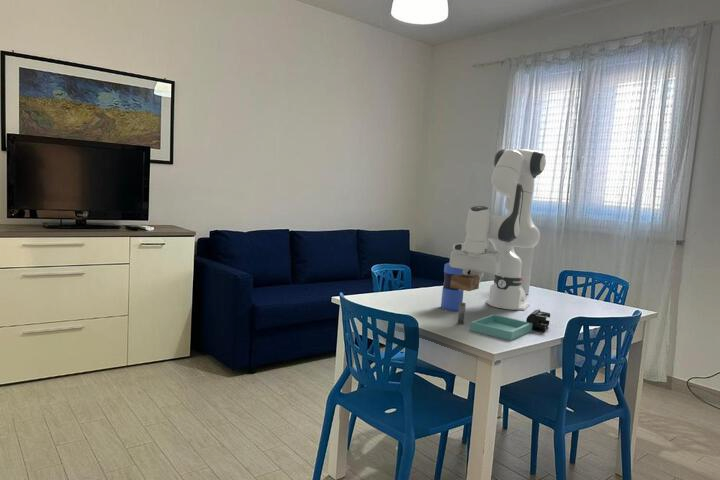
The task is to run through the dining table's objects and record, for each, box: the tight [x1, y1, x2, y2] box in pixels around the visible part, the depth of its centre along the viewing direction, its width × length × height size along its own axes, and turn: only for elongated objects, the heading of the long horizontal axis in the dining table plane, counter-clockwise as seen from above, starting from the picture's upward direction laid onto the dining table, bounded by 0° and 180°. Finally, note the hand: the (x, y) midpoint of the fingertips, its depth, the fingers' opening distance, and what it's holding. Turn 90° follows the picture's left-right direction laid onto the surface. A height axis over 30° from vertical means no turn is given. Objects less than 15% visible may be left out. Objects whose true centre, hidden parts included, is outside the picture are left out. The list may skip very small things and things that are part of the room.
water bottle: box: [440, 262, 465, 312], centre depth 227 cm, size 9×9×25 cm
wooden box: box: [450, 273, 480, 292], centre depth 204 cm, size 13×8×4 cm, turn 142°
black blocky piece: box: [525, 309, 551, 333], centre depth 204 cm, size 10×7×7 cm
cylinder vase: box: [514, 247, 535, 296], centre depth 277 cm, size 12×12×25 cm
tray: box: [469, 313, 533, 341], centre depth 197 cm, size 20×16×3 cm
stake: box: [457, 302, 466, 325], centre depth 203 cm, size 2×2×8 cm
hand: (472, 282), depth 207 cm, fingers closed on wooden box, 3 cm apart
